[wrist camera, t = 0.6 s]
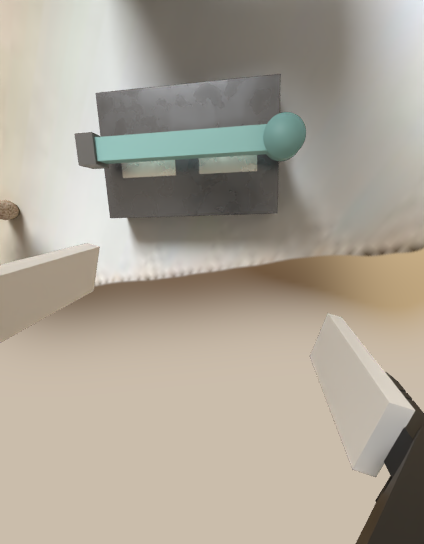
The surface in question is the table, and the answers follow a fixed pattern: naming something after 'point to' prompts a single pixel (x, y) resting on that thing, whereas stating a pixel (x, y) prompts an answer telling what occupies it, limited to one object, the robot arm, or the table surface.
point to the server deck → (200, 171)
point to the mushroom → (8, 210)
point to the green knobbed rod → (195, 143)
